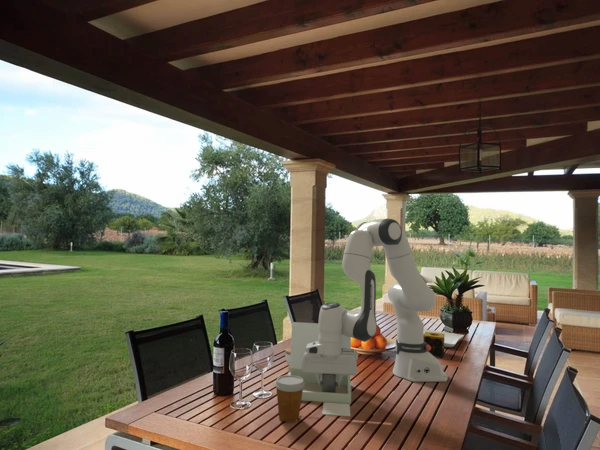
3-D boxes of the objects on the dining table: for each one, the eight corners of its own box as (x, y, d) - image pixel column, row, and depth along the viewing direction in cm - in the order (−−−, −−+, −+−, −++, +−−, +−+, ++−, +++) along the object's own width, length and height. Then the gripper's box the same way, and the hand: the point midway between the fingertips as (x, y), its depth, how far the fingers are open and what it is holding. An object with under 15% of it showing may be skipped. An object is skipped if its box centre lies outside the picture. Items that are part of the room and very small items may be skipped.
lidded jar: (306, 372, 170) (307, 350, 170) (282, 370, 172) (282, 348, 173) (310, 364, 181) (311, 344, 181) (287, 362, 183) (288, 342, 183)
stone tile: (349, 406, 136) (349, 404, 136) (350, 418, 127) (350, 415, 127) (323, 404, 137) (323, 402, 137) (322, 416, 128) (322, 413, 128)
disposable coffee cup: (281, 409, 133) (282, 372, 133) (308, 414, 129) (309, 377, 129) (268, 421, 124) (269, 382, 124) (296, 427, 120) (297, 387, 121)
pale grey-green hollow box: (349, 380, 162) (350, 324, 162) (351, 405, 137) (352, 339, 138) (291, 376, 164) (292, 321, 165) (282, 400, 140) (284, 335, 141)
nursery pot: (335, 391, 148) (336, 366, 149) (335, 396, 143) (336, 371, 144) (322, 390, 149) (322, 365, 149) (321, 395, 144) (322, 370, 144)
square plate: (464, 340, 235) (464, 334, 235) (454, 351, 212) (454, 343, 212) (418, 333, 249) (418, 327, 249) (404, 342, 226) (404, 335, 226)
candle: (422, 355, 202) (422, 335, 202) (424, 350, 211) (424, 331, 211) (443, 357, 198) (443, 337, 198) (444, 352, 207) (444, 333, 207)
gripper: (357, 346, 149) (356, 384, 148) (303, 343, 151) (302, 380, 150) (358, 351, 142) (357, 390, 142) (301, 348, 145) (300, 386, 144)
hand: (328, 385), depth 146 cm, fingers closed on nursery pot, 5 cm apart
